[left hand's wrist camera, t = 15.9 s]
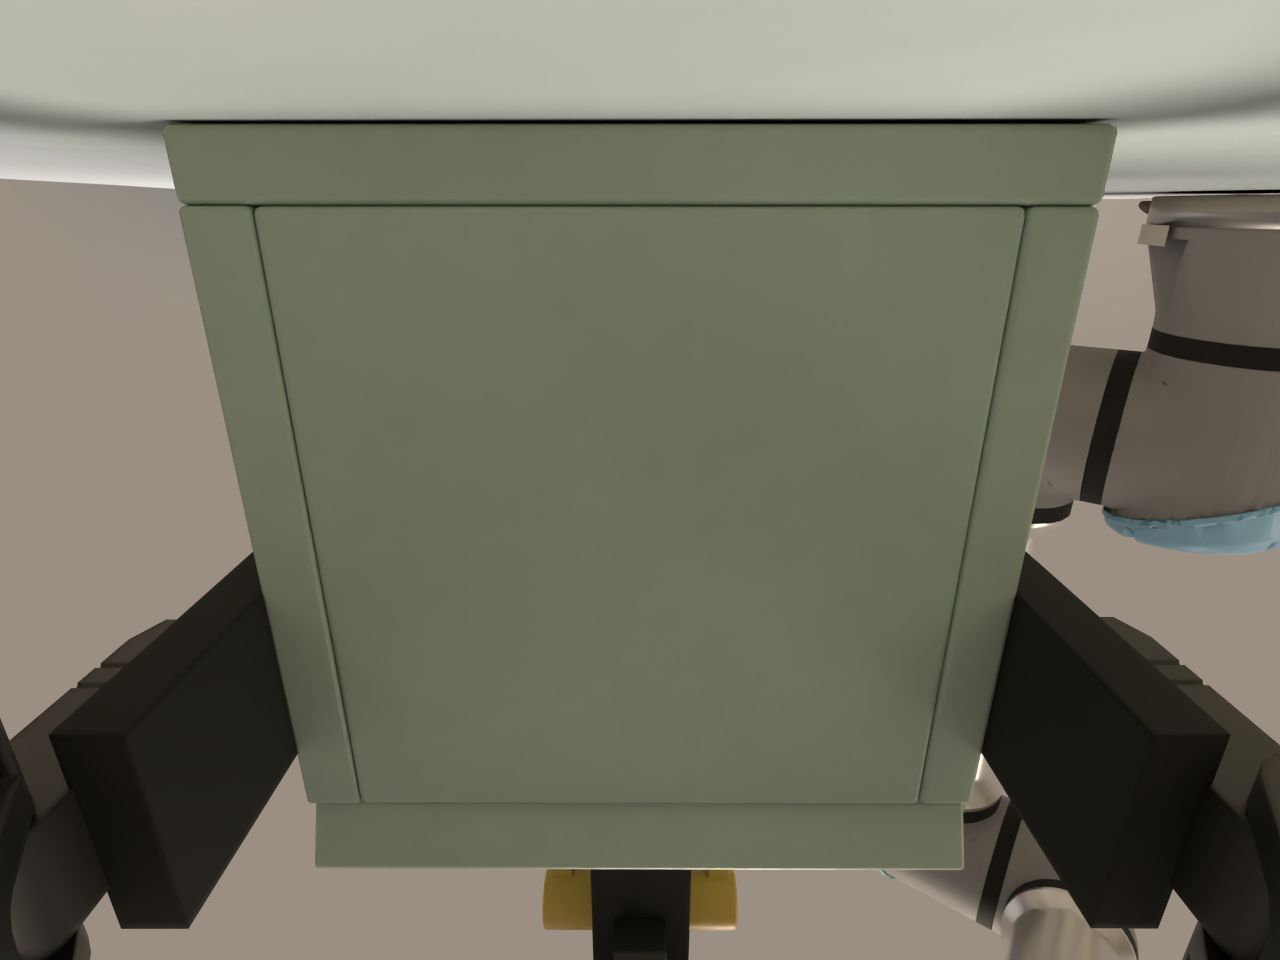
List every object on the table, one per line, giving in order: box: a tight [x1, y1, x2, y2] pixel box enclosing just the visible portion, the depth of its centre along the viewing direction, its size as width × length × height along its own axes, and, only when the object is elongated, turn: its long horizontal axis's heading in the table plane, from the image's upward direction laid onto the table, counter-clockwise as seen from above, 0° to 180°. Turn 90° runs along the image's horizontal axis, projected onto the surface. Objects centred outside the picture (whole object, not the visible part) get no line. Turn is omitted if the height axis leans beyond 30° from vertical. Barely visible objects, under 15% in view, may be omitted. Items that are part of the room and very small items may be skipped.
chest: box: [163, 124, 1117, 803], centre depth 15 cm, size 13×10×9 cm
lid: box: [315, 799, 964, 930], centre depth 18 cm, size 14×10×8 cm
